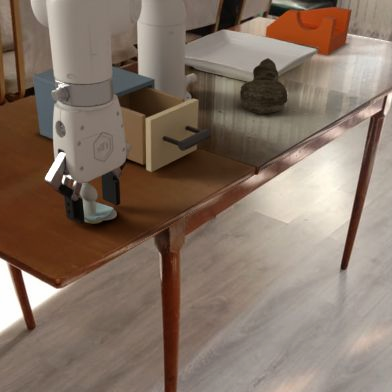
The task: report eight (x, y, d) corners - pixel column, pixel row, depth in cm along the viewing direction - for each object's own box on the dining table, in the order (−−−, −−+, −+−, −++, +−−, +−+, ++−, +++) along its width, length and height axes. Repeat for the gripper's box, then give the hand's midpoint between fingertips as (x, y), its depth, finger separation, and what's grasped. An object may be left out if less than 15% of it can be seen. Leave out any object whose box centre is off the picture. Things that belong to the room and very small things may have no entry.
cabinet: (155, 137, 118) (154, 79, 111) (104, 160, 110) (100, 99, 103) (92, 114, 125) (88, 58, 118) (40, 134, 117) (32, 75, 110)
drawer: (219, 157, 110) (222, 107, 104) (174, 181, 103) (175, 128, 97) (132, 126, 119) (131, 78, 113) (85, 146, 112) (81, 96, 106)
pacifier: (85, 203, 98) (62, 219, 94) (83, 165, 94) (58, 179, 90) (125, 215, 96) (103, 232, 91) (124, 177, 92) (101, 192, 87)
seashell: (306, 74, 130) (266, 63, 134) (286, 52, 119) (243, 40, 124) (284, 128, 132) (245, 115, 137) (263, 110, 122) (221, 97, 126)
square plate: (268, 93, 138) (270, 75, 136) (165, 68, 148) (165, 51, 146) (317, 63, 156) (320, 46, 153) (222, 42, 166) (223, 26, 163)
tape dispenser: (345, 43, 169) (351, 9, 164) (327, 55, 161) (333, 19, 156) (285, 31, 176) (289, -2, 171) (265, 42, 168) (268, 7, 162)
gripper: (54, 115, 75) (68, 243, 87) (149, 80, 86) (150, 198, 98) (13, 99, 79) (32, 224, 90) (109, 68, 89) (115, 183, 101)
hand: (94, 210), depth 94 cm, fingers open, 6 cm apart
